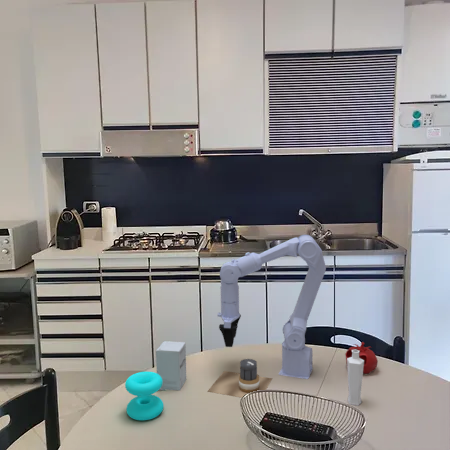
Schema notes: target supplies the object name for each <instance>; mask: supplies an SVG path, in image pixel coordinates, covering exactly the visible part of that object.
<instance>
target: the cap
mask: <svg viewBox="0 0 450 450" xmlns="http://www.w3.org/2000/svg"><path fill="white" fill-rule="evenodd" d="M239 362H240V363H239V364H240V365H239V367H240V368H239V373H240V378H241V379H243V380H246V381H251V380H255V379H256V378H257V374H258V367H257V366H258V365H257V363H258V362H257V361H256V360H255V359H253V358H244V359H242V360H240V361H239Z"/></svg>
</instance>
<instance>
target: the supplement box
mask: <svg viewBox="0 0 450 450" xmlns="http://www.w3.org/2000/svg"><path fill="white" fill-rule="evenodd" d="M186 348H187V347H186V342H185V341H169V340H168V341H165V340H164V341H162V342H161V344H160V345H159V346H158V347H157V349H156V350H155V363H156V365H155V366H156V373H157V374H159V375H160V376H161V378H162V380H163V383H162V386H161V388H160V389H159V390H158V391H166V390H169V391H171V390H172V391H181V390H182V387H183V386H184V384H185V382H186V381H187V350H186Z"/></svg>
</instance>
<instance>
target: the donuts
mask: <svg viewBox="0 0 450 450" xmlns="http://www.w3.org/2000/svg"><path fill="white" fill-rule="evenodd" d="M125 380H126V381H125V384H124V388H125V390H126V391H127V392H128V393H129V394H131V395H132V396H135V397H133V398H131V400H130V401H129V402H128V403H127V405H126V413H127V416H128V417H130V418H131V419H133V420H136V421H149V420H153V419H155V418H157V417H158V416H160V414H162V412H163V410H164V402H163V400H162V399H161V397H159V396H157V395H155V393H157V392H158V391H160V390H159V389H160V388H161V386H162V383H163V380H162V378H161V376H160V375H159V374H157V372H154V371H139V372H136V373H133V374H131V375H129V377H128V378H127V379H125Z"/></svg>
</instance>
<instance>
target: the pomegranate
mask: <svg viewBox="0 0 450 450" xmlns="http://www.w3.org/2000/svg"><path fill="white" fill-rule="evenodd" d="M364 345H365V342H364V341H362V342H361V343H360V346H359V345H358V344H356V343H355V344H353V346H351V347H349V348H348V349H347V350H346V352H345V354H344V355H345V360H346V361H345V363H346V365H347V358H350V357H352V350H355V349H356V350H359V351H360V352H359V358H361V359H362V360H364V367H363V374H367V375H368V374H371V372H373V371H375V370H377V369H376V368H377V366H378V362H379V360H378V358H377V356H376V353H375V352H374V351H373V350H371V349H370V346H366V347H365V346H364Z"/></svg>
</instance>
